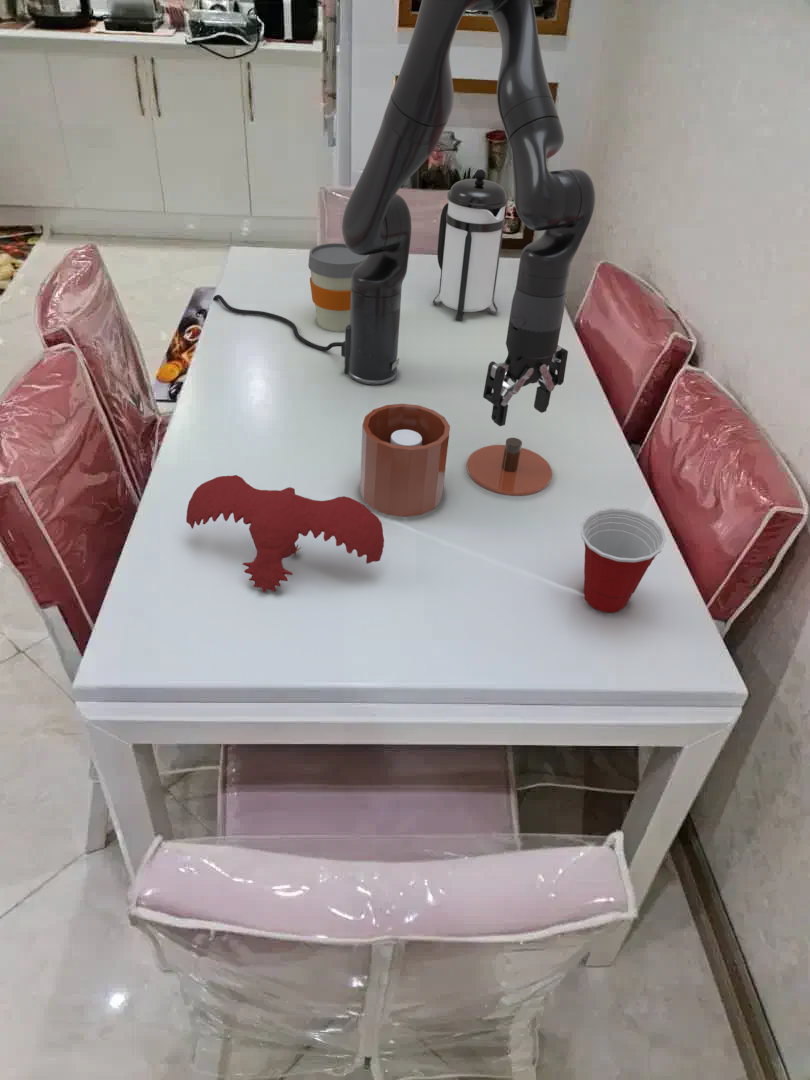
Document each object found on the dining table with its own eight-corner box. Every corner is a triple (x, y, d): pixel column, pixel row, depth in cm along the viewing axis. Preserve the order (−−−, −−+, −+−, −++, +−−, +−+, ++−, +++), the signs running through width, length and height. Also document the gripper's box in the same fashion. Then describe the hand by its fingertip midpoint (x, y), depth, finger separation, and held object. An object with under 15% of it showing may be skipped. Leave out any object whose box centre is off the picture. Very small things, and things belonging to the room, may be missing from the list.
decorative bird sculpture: (373, 614, 112) (395, 508, 113) (362, 614, 103) (386, 499, 104) (182, 574, 116) (205, 472, 117) (155, 571, 107) (180, 460, 108)
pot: (345, 501, 125) (346, 431, 117) (386, 462, 134) (390, 395, 126) (418, 529, 120) (425, 459, 113) (455, 487, 129) (464, 420, 122)
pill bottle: (416, 504, 124) (421, 450, 118) (380, 498, 125) (383, 443, 119) (423, 484, 129) (428, 430, 123) (388, 478, 129) (391, 424, 123)
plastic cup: (555, 572, 115) (572, 505, 107) (629, 572, 116) (650, 505, 108) (574, 627, 106) (593, 558, 99) (653, 626, 108) (678, 557, 100)
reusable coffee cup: (378, 321, 177) (381, 252, 167) (344, 340, 168) (346, 269, 159) (331, 305, 182) (332, 238, 172) (296, 323, 173) (295, 254, 164)
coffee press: (505, 301, 190) (525, 165, 171) (488, 327, 178) (507, 184, 159) (434, 288, 194) (446, 153, 175) (413, 312, 182) (424, 170, 163)
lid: (452, 480, 131) (456, 447, 127) (487, 442, 141) (491, 410, 137) (532, 508, 126) (539, 476, 122) (562, 467, 136) (569, 435, 132)
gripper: (554, 300, 122) (537, 396, 132) (481, 318, 116) (468, 417, 126) (589, 319, 118) (568, 416, 128) (515, 338, 111) (499, 439, 121)
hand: (519, 416), depth 127 cm, fingers open, 8 cm apart
